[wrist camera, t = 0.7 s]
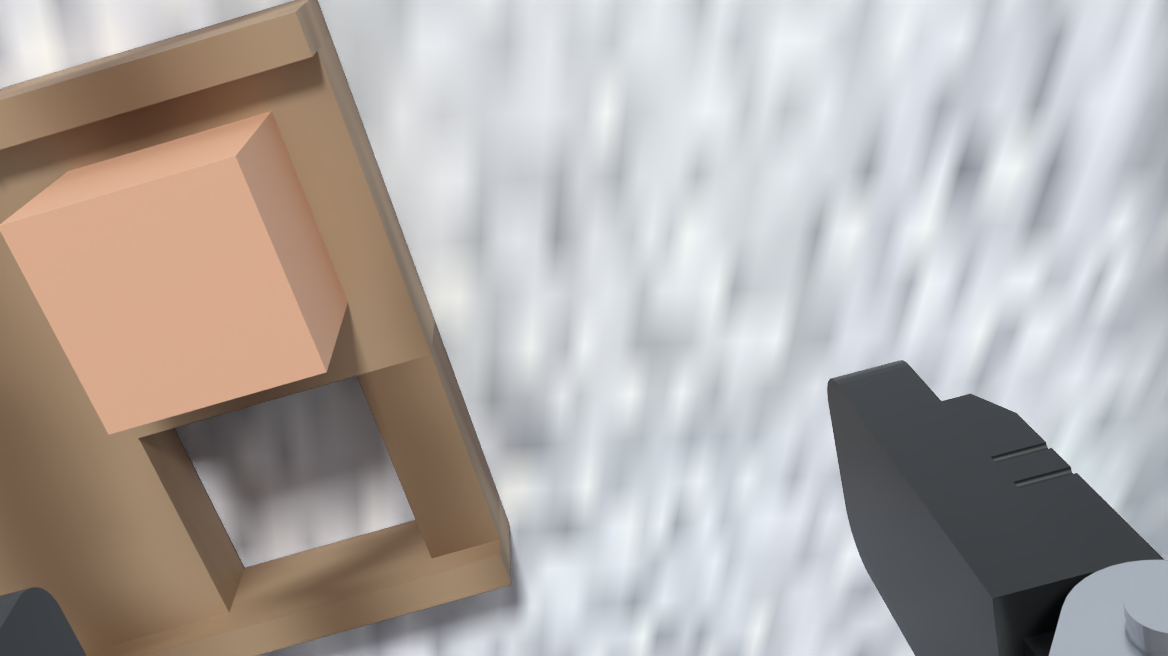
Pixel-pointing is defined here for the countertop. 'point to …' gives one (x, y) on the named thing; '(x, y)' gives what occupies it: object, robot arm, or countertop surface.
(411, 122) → the countertop surface
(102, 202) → the block
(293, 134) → the brown wooden compartment frame
